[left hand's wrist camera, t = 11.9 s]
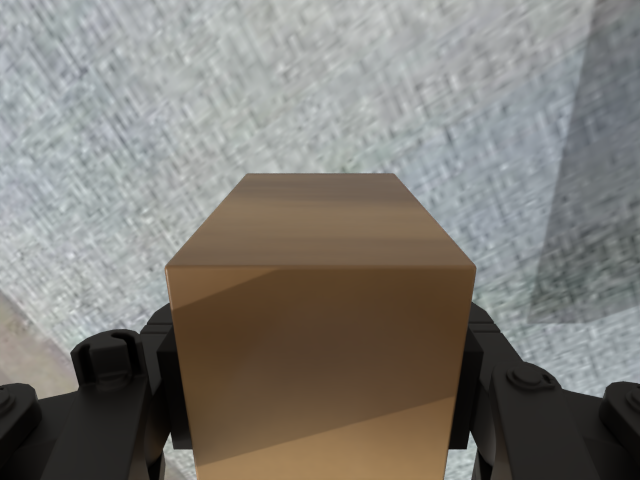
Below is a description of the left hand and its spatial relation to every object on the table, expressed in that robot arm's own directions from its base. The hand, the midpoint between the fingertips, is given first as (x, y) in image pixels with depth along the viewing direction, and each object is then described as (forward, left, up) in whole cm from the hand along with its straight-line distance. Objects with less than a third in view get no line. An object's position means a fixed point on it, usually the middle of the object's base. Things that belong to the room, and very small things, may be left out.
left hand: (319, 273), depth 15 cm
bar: (+8, +3, -1) cm, 9 cm away
